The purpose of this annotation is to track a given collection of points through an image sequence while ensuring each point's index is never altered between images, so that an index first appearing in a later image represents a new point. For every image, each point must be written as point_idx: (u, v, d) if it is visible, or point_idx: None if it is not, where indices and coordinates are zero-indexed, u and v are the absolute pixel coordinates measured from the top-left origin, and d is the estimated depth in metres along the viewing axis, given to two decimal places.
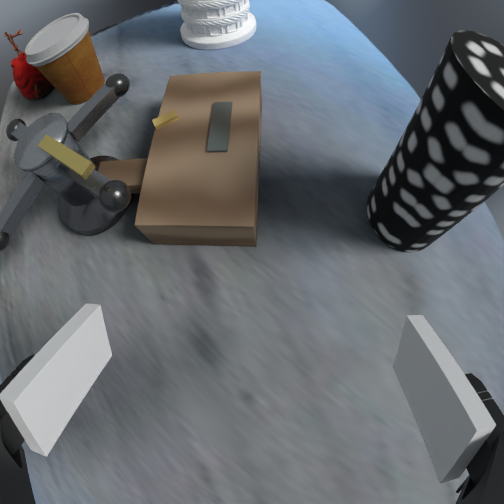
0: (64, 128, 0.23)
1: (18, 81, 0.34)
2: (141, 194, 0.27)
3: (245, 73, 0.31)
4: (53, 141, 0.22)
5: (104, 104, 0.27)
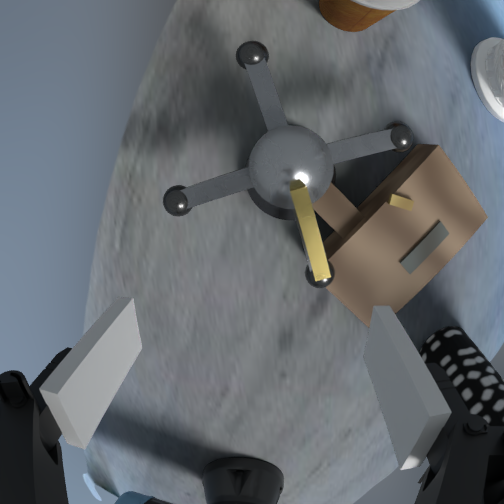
0: (327, 188, 0.23)
1: None
2: (334, 255, 0.30)
3: (479, 208, 0.28)
4: (310, 208, 0.22)
5: None
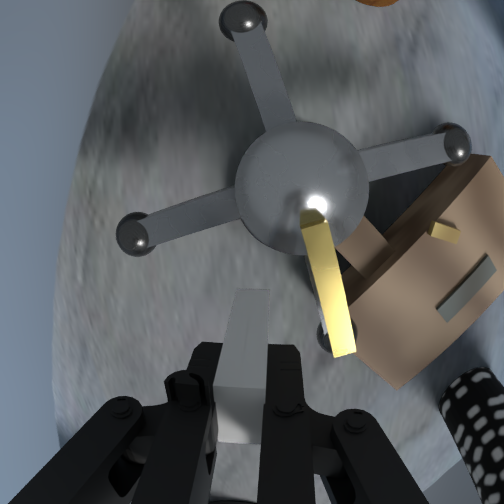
0: (357, 223, 0.14)
1: None
2: (355, 303, 0.22)
3: None
4: (332, 256, 0.14)
5: None
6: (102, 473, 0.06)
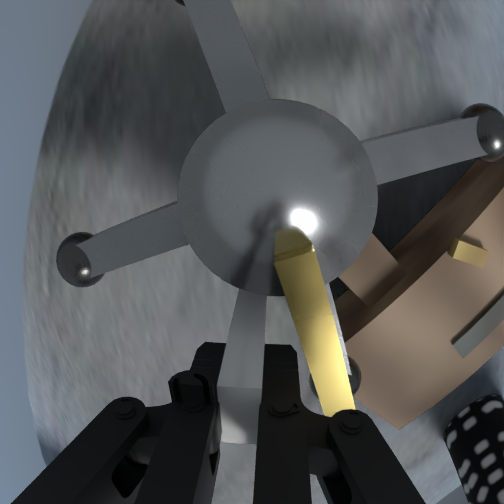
0: (361, 248, 0.10)
1: None
2: (353, 338, 0.17)
3: None
4: (322, 300, 0.09)
5: None
6: (105, 474, 0.06)
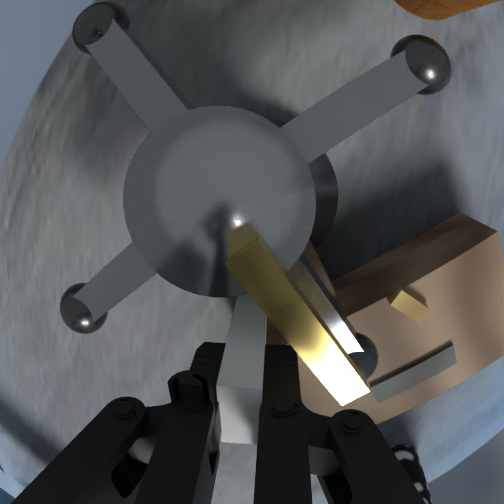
0: (311, 224, 0.10)
1: None
2: None
3: None
4: (285, 287, 0.10)
5: None
6: (105, 474, 0.06)
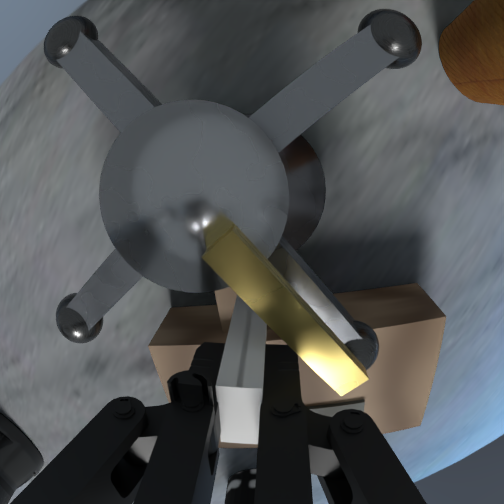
0: (286, 209, 0.09)
1: None
2: (193, 346, 0.18)
3: (420, 413, 0.19)
4: (264, 275, 0.09)
5: None
6: (104, 474, 0.06)
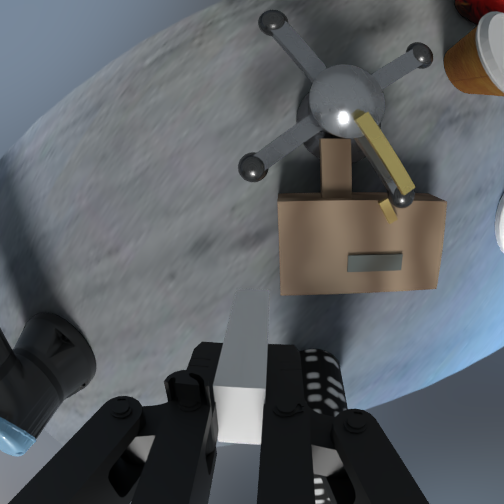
0: (383, 109, 0.22)
1: None
2: (307, 202, 0.31)
3: (436, 276, 0.32)
4: (377, 130, 0.22)
5: None
6: (102, 473, 0.06)
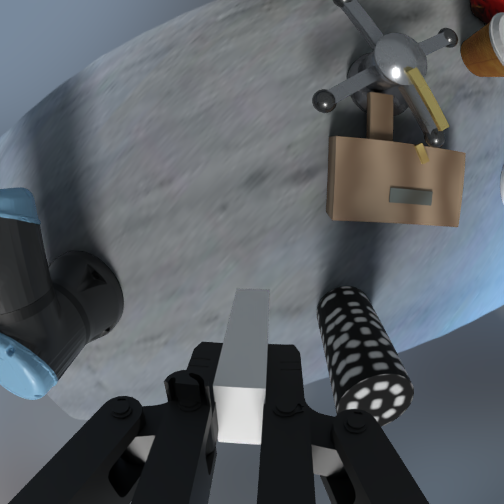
0: (426, 68, 0.26)
1: None
2: (359, 139, 0.35)
3: (457, 215, 0.36)
4: (423, 81, 0.26)
5: None
6: (102, 473, 0.06)
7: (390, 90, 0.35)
